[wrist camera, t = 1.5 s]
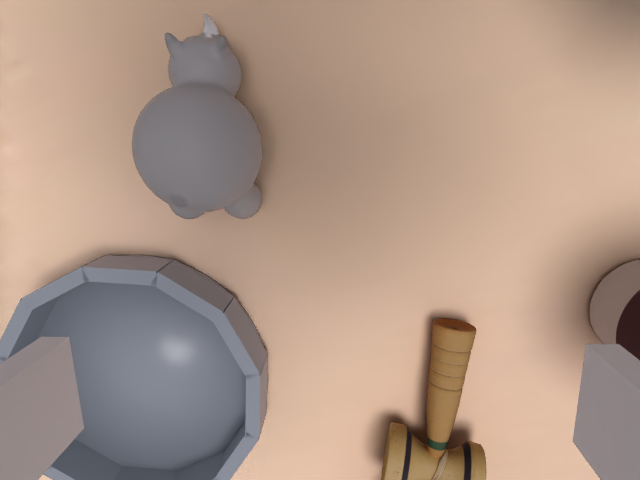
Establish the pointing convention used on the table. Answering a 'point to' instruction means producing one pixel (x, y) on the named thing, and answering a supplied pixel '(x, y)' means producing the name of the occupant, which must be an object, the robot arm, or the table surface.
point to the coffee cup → (618, 308)
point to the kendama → (438, 416)
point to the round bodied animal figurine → (200, 132)
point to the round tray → (151, 369)
